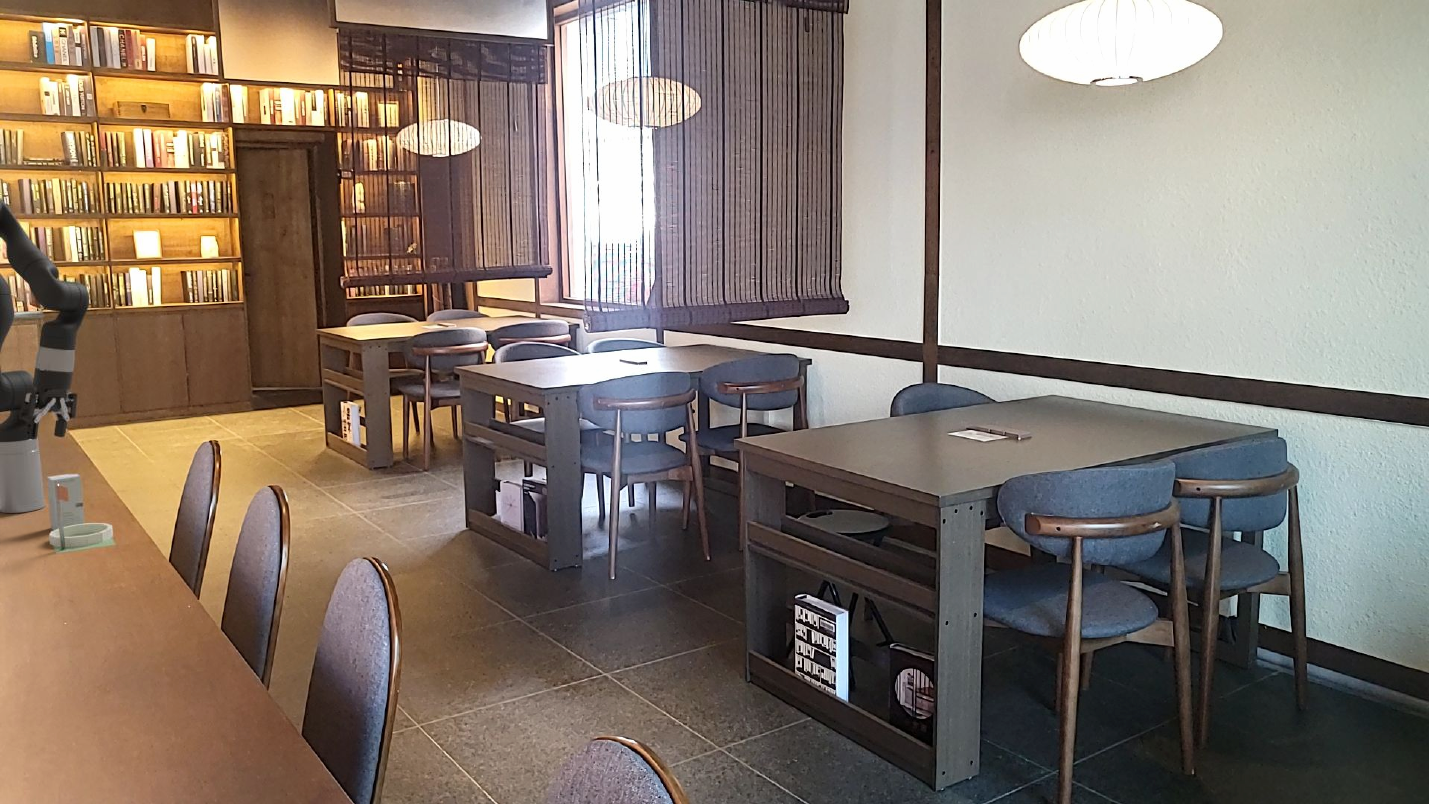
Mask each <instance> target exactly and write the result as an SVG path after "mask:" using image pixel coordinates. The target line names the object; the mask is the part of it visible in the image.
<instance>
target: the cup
mask: <svg viewBox="0 0 1429 804" xmlns="http://www.w3.org/2000/svg"><path fill="white" fill-rule="evenodd" d="M63 529H64V539H65V547H76V546H86V545H91V544H95V543H100V542H103V541H106V540H108V539H110V538H112V539H113V535H114V532H113V531H114V530H113V525H112V524H110V523H105V522H88V523H85V524H77V525H71V526H67V527H63ZM84 533H94V534H89V535H84V536H75V537H67V536H71V535H76V534H84ZM48 539H49V545H50V546H56V547H61V543H60V534H59V529H56V530H51V531H50V533H49V534H48Z"/></svg>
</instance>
